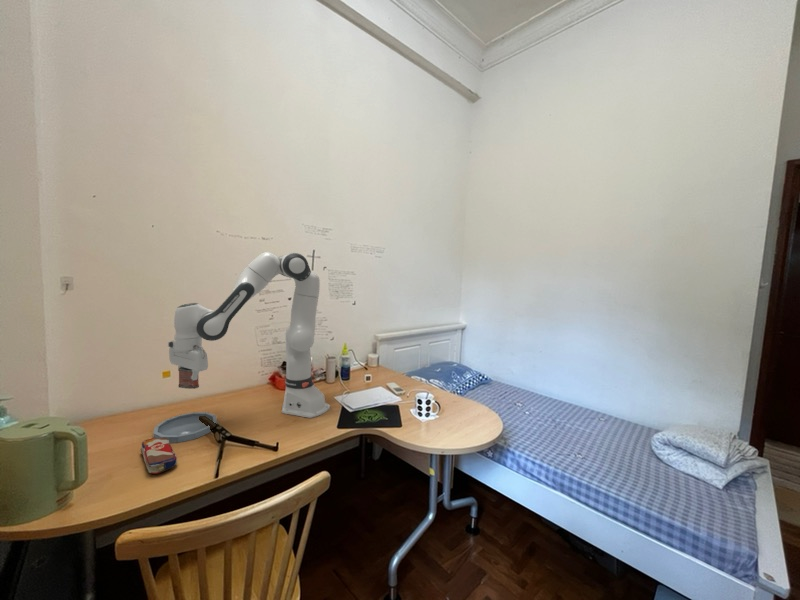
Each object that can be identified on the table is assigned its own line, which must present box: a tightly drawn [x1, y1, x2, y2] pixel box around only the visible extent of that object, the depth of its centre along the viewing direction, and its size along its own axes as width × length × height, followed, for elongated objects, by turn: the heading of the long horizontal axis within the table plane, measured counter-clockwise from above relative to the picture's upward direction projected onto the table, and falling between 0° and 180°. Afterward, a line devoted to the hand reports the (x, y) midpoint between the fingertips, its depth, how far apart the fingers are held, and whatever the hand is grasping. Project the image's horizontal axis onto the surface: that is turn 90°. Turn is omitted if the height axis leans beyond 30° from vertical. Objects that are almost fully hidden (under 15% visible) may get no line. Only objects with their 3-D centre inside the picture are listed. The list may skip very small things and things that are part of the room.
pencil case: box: [140, 438, 178, 475], centre depth 100 cm, size 11×20×5 cm, turn 32°
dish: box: [152, 411, 218, 444], centre depth 120 cm, size 20×20×2 cm
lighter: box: [177, 367, 200, 390], centre depth 122 cm, size 8×3×10 cm, turn 84°
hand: (188, 378), depth 122 cm, fingers closed on lighter, 6 cm apart
